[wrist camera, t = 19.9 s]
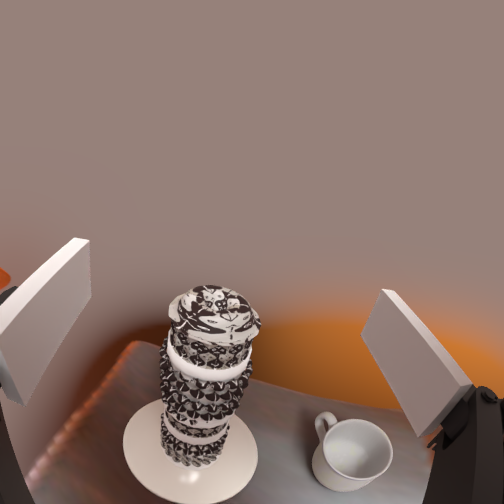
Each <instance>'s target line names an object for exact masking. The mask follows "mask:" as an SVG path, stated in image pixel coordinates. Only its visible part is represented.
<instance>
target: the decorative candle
mask: <svg viewBox="0 0 504 504" xmlns="http://www.w3.org/2000/svg"><path fill="white" fill-rule="evenodd" d="M169 317H170V318H171V320H172V321H171V329H170V331H169V335H168V337H166V338H165V339H164V345H163V346H162V347H161V348H160V351H159V352H160V355H161V356H162V357H163V358H162V359H160V370H161V373H160V378H161V380H162V382H161V384H160V388H161V392H162V402H163V404H164V413H162V414H161V420H162V421H161V429H160V432H161V435H160V437H161V448H162V451H163V453H164V455H165V457H166V458H167V459H168V460H169V461H170V462H172V463H173V464H174V465H175V466H178V467H180V468H183V469H185V470H202V469H205V468H208V467H211V466H212V465H213V464H214V463H215V462H216V461H217V460H218V458H219V456H220V454H221V453H222V451H221V450H222V449H223V446H224V443H225V441H226V439H225V438H226V437H227V436H228V432H227V430H229V429H230V426H229V424H228V423H229V420H230V418H231V417H232V416H233V415H234V412H235V409H237V408H238V407H239V400H240V398H242V396H243V388H246V387H247V386H248V379H249V376H250V375H251V374H252V371H253V370H252V368H251V366H252V361H251V360H250V359H249V358H250V354H251V351H252V348H251V344H252V341H253V338H254V337H255V336H256V335H258V332H259V329H260V326H261V323H260V319H259V316H258V314H257V313H256V312H255V311H254V310H253V309H252V308H251V306H250V304H249V303H248V301H247V300H246V299H244V297H243V296H242V295H240V294H238V293H237V292H235V291H233V290H231V289H228V288H225V287H221V286H213V285H206V286H198V287H196V288H193V289H191V290H189V291H188V292H187V293H185V294H182V295H180V296H178V297H176V298H175V300H174V301H173V302H172V303H171V304H170V307H169ZM166 349H167V353H166ZM246 368H247V369H246ZM245 369H246V371H245ZM241 373H242V375H241Z"/></svg>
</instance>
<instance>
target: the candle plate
mask: <svg viewBox="0 0 504 504" xmlns="http://www.w3.org/2000/svg"><path fill="white" fill-rule="evenodd" d="M162 413H164V404H163V402H162V399H159V400H156V401H154V402H151V403H149V404H147V405H146V406H144V407H142V408H141V409H140V410H138V411H137V412H136V413H135V414H134V415H133V417H132V418H131V419H130V421H129V422H128V424H127V426H126V429H125V432H124V437H123V449H124V454H125V458H126V461H127V464H128V466H129V468H130V470H131V472H132V474H133V475H134V476H135V478H136V479H137V480H138V481H139V482H140V483H141V484H142V485H143V486H144V487H145V488H146V489H148V490H149V491H150V492H152V493H153V494H155V495H157V496H158V497H160V498H162V499H165V500H167V501H170V502H173V503H176V504H217V503H220V502H223V501H226V500H228V499H230V498H231V497H233V496H235V495H236V494H238V493H239V492H240V491H241V490H242V489H243V488H244V487H245V486H246V485H247V483H248V482H249V481H250V479H251V478H252V476H253V474H254V472H255V469H256V466H257V460H258V451H257V446H256V442H255V439H254V437H253V435H252V433H251V431H250V430H249V428H248V427H247V426H246V424H245V423H244V422H243V421H242V420H241V419H240V418H239V417H238V416H236V415H235V414H234V415H233V416H232V417H231V418H230V420H229V423H228V424H229V426H230V429H229V430H227V432H228V436H227V437H226V438H225V439H226V441H225V443H224V446H223V449H222V450H221V451H222V453H221V454H220V456H219V458H218V460H217V461H216V462H215V463H214V464H213V465H212V466H211V467H208V468H205V469H202V470H185V469H183V468H180V467H178V466H175V465H174V464H173V463H172V462H170V461H169V460H168V459H167V458H166V457H165V455H164V453H163V451H162V448H161V437H160V435H161V432H160V429H161V421H162V420H161V414H162Z"/></svg>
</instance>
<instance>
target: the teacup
mask: <svg viewBox="0 0 504 504" xmlns="http://www.w3.org/2000/svg"><path fill="white" fill-rule="evenodd" d="M324 419H325V420H326V421H327V423H328V426H329V429H328V431H327V432H326V430H325V427H324ZM315 428H316V431H317V434H318V437H319V439H320V444H319V445H318V447H317V448H316V450H315V452H314V455H313V458H312V469H313V472H314V475H315V476H316V478H317V479H318V481H319V482H320V483H321V484H322V485H324V486H325V487H327V488H329V489H331V490H334V491H339V492H349V491H354V490H357V489H360V488H362V487H364V486H365V485H367V484H368V483H370V482H371V481H372V480H374V479H375V478H376V477H378V476H380V475H381V474H383V473H384V472H385V471H386V470H387V468H388V467H389V465H390V464H391V461H392V457H393V449H392V445H391V442H390V440H389V438H388V436H387V435H386V433H385V432H384V431H383V430H382V429H381V428H379V427H378V426H376V425H375V424H373V423H371V422H368V421H365V420H361V419H348V420H344V421H341V422H337V419H336V418H335V416H334V415H333V414H332V413H330V412H322V413H320V414H319V415H318V416H317V417H316V419H315Z"/></svg>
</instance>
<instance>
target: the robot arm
mask: <svg viewBox="0 0 504 504" xmlns="http://www.w3.org/2000/svg"><path fill="white" fill-rule="evenodd" d="M90 298H91V284H90V241H89V240H85V239H79V238H73V239H72V240H71V241H70V242H69V243H67V244H66V245H65V246H64V247H63V248H61V249H60V250H59V251H58V252H57V253H56V254H54V255H53V256H52V257H51V258H50V259H49V260H48V261H47V262H46V263H44V264H43V265H42V266H41V267H40V268H39V269H38V270H37V271H35V272H34V274H32V275H31V276H30V277H29V278H28V279H27V280H26V281H25V282H24V283H23V284H22V285H21V286H20V287H16V286H14V287H12V288H10V289H8V290H6V291H4V292H3V293H2V294H1V295H0V387H2V389H3V391H4V393H5V395H6V396H7V398H8V399H10V400H12V401H14V402H16V403H19V404H21V405H23V406H25V407H26V405H27V403H28V401H29V399H30V397H31V395H32V393H33V391H34V389H35V388H36V386H37V384H38V382H39V380H40V378H41V377H42V375H43V373H44V371H45V369H46V368H47V366H48V364H49V362H50V361H51V359H52V357H53V356H54V354H55V352H56V350H57V349H58V347H59V346H60V344H61V342H62V341H63V339H64V338H65V336H66V334H67V333H68V331H69V330H70V328H71V326H72V325H73V323H74V322H75V320H76V319H77V317H78V316H79V314H80V313H81V311H82V310H83V308H84V307H85V305H86V304H87V302H88V301H89V299H90ZM360 336H361V337H362V339H363V341H364V342H365V344H366V345H367V347H368V349H369V351H370V353H371V354H372V356H373V358H374V359H375V361H376V363H377V365H378V366H379V368H380V369H381V371H382V373H383V375H384V377H385V378H386V380H387V382H388V384H389V386H390V387H391V389H392V391H393V393H394V394H395V396H396V398H397V400H398V402H399V404H400V405H401V407H402V409H403V411H404V413H405V415H406V416H407V418H408V420H409V422H410V424H411V426H412V428H413V430H414V432H415V433H416V435H417V437H421V436H425V435H429V434H431V433H432V432H433V431H434V430H435V429H436V428H437V427H438V426H439V425H440V424H441V425H442V427H443V429H442V430H441V431H440V433H439V434H438V435H437V436H436V437H435V438H434V439H433V440H432V441H431V442H430V443H429V444H428V446H427V448H430V447H431V446H432V445H433V444H434V443H437V444H436V445H435V446H434V447H433V448H432V450H435V455H434V460H433V465H432V469H431V473H430V478H429V482H428V486H427V489H426V493H425V497H424V500H423V503H422V504H504V398H503V399H498V397H497V396H496V394H495V393H494V392H493V391H492V390H490V389H488V388H487V387H484V386H479V387H478V388H476V387H475V386H474V385H473V384H472V382H471V381H470V380H469V378H468V377H467V376H466V374H465V373H464V372H463V371H462V369H461V368H460V367H459V366H458V364H457V363H456V362H455V360H454V359H453V358H452V357H451V356H450V354H449V353H448V352H447V351H446V349H445V348H444V347H443V346H442V345H441V344H440V343H439V341H438V340H437V339H436V338H435V336H434V335H433V334H432V333H431V332H430V331H429V329H428V328H427V327H426V326H425V325H424V324H423V323H422V322H421V320H420V319H419V318H418V317H417V316H416V315H415V313H414V312H413V311H412V310H411V309H410V308H409V307H408V306H407V304H406V303H405V302H404V301H403V300H402V299H401V298H400V297H399V296H398V295H397V294H396V292H394V291H393V290H387V289H381V291H380V294H379V296H378V298H377V301H376V303H375V305H374V308H373V310H372V312H371V314H370V317H369V318H368V320H367V322H366V325H365V327H364V329H363V331H362V333H361V335H360ZM0 504H35V503H34V501H33V498H32V496H31V494H30V492H29V490H28V487H27V485H26V482H25V480H24V478H23V475H22V473H21V470H20V468H19V465H18V462H17V459H16V456H15V453H14V450H13V447H12V444H11V441H10V438H9V434H8V431H7V427H6V424H5V420H4V416H3V412H2V407H1V403H0Z"/></svg>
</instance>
